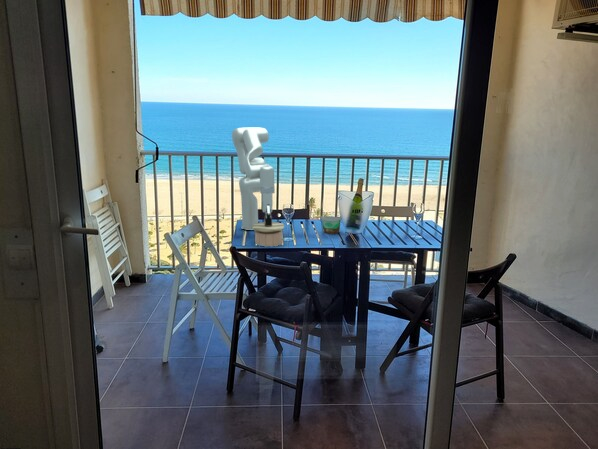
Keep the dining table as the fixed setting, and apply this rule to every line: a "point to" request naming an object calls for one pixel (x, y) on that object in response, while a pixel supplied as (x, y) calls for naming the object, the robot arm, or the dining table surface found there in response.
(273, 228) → the lid
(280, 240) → the bowl
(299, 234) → the dining table surface
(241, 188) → the robot arm
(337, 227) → the food container
